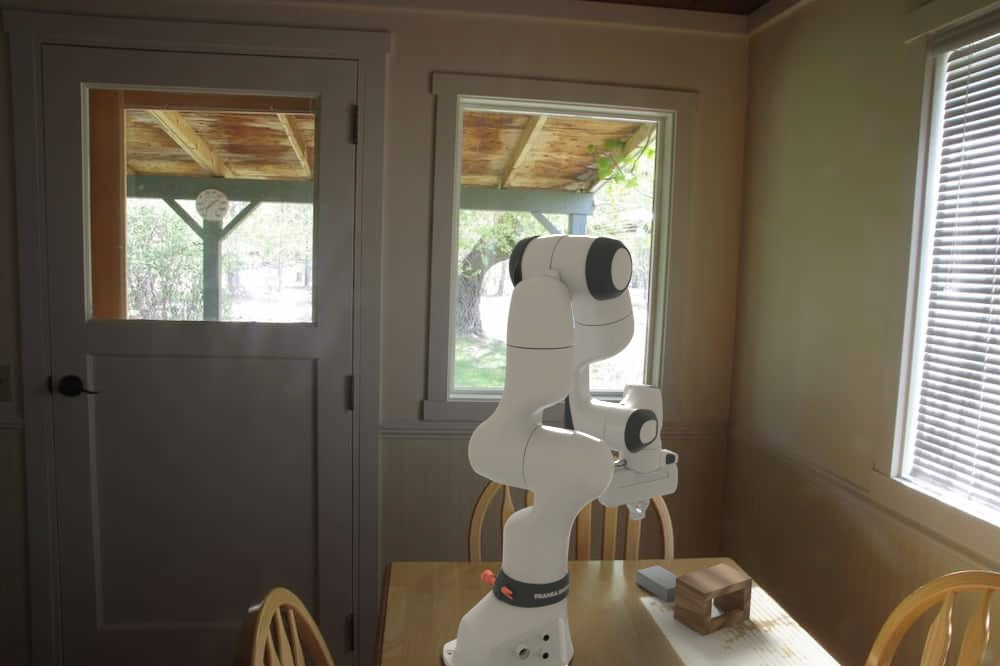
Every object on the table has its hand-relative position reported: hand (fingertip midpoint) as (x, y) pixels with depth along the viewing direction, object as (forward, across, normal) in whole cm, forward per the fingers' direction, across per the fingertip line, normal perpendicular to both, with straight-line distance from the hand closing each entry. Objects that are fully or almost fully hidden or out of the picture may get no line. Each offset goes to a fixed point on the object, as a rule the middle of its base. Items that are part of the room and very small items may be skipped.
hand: (637, 518), depth 140 cm
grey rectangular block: (+12, -1, -9) cm, 15 cm away
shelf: (+12, -1, -22) cm, 25 cm away
